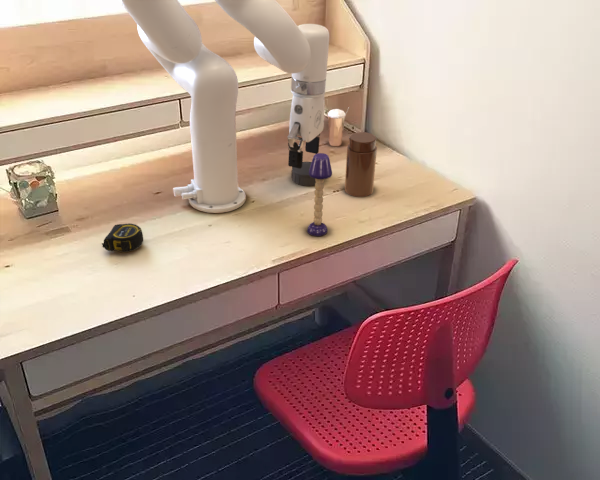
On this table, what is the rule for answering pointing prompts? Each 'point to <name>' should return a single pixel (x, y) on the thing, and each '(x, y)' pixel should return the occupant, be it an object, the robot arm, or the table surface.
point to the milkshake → (336, 126)
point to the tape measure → (123, 238)
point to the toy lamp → (319, 191)
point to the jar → (360, 164)
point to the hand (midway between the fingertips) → (303, 159)
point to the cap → (303, 175)
